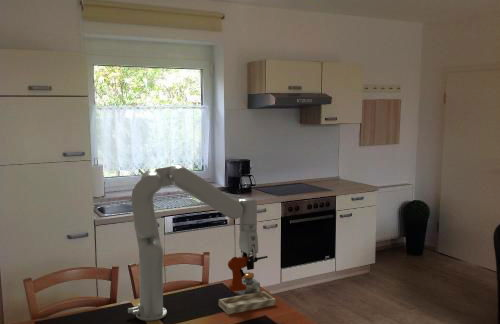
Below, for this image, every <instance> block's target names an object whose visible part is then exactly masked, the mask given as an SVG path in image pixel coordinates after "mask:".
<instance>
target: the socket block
mask: <svg viewBox="0 0 500 324" xmlns="http://www.w3.org/2000/svg"><path fill="white" fill-rule="evenodd" d="M242 283H243V284H245V285H246V286H247V288H246V290H242V291H236V293H237V292H238V293H239V296H241V295H246V294H252V293H257V292H261V283H260V282H259V281H258V280H257V279H255V278H254V277H253V278H252V283H248V284H246V283H245V278H242ZM238 293H237V294H238Z"/></svg>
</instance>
